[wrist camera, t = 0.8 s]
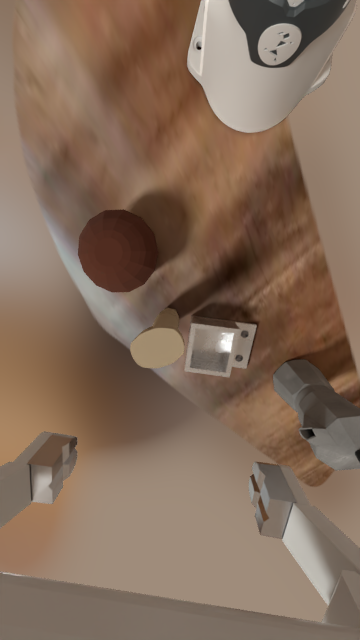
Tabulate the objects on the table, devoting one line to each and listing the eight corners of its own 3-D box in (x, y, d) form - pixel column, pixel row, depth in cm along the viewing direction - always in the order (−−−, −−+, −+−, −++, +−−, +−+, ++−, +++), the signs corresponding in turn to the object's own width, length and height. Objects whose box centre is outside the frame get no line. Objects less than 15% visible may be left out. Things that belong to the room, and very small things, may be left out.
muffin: (118, 297, 38) (93, 309, 28) (85, 240, 35) (46, 232, 26) (175, 268, 36) (169, 271, 26) (144, 205, 33) (126, 183, 24)
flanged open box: (191, 315, 38) (191, 323, 33) (255, 323, 38) (264, 332, 33) (185, 358, 41) (184, 371, 36) (245, 366, 40) (252, 380, 36)
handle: (190, 321, 38) (189, 357, 24) (159, 332, 39) (140, 373, 25) (181, 297, 37) (174, 321, 23) (149, 309, 38) (124, 339, 24)
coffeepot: (255, 391, 42) (300, 483, 25) (271, 350, 39) (333, 422, 22) (328, 407, 42) (422, 509, 25) (348, 368, 39) (470, 452, 22)
